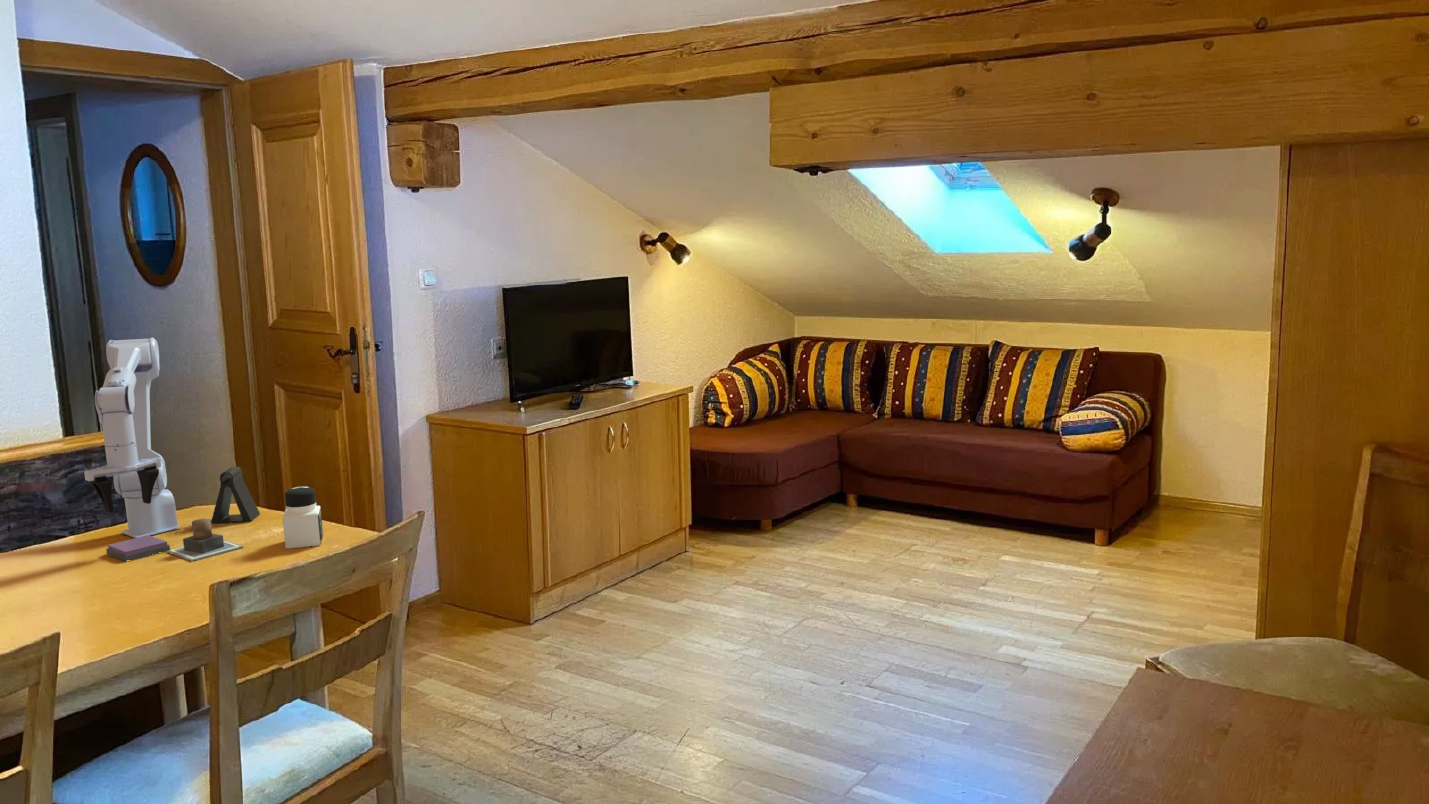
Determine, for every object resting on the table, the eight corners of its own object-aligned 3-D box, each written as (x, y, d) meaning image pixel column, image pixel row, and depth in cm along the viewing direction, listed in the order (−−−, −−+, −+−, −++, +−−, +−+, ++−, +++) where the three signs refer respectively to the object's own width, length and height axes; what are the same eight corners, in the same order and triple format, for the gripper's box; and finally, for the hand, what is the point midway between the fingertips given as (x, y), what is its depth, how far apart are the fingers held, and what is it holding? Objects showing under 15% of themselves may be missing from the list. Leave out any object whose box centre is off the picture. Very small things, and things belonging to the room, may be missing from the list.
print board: (217, 539, 235) (217, 537, 235) (243, 547, 228) (243, 546, 228) (166, 552, 226) (166, 550, 226) (191, 561, 219) (191, 559, 219)
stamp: (204, 543, 231) (201, 516, 230) (224, 546, 228) (221, 519, 227) (184, 550, 226) (181, 522, 225) (203, 553, 224) (200, 525, 223)
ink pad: (150, 543, 233) (149, 534, 233) (170, 550, 227) (169, 541, 227) (106, 554, 226) (105, 545, 226) (125, 562, 220) (124, 552, 220)
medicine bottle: (321, 546, 228) (316, 491, 226) (285, 549, 226) (280, 494, 224) (323, 536, 235) (318, 483, 233) (288, 540, 233) (283, 486, 231)
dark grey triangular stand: (260, 514, 253) (255, 465, 251) (251, 522, 247) (245, 471, 245) (221, 516, 253) (215, 467, 251) (211, 523, 247) (205, 473, 245)
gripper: (91, 452, 215) (100, 518, 217) (164, 439, 226) (172, 501, 228) (76, 448, 219) (85, 513, 221) (149, 435, 230) (156, 497, 233)
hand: (128, 507), depth 225 cm, fingers open, 7 cm apart
